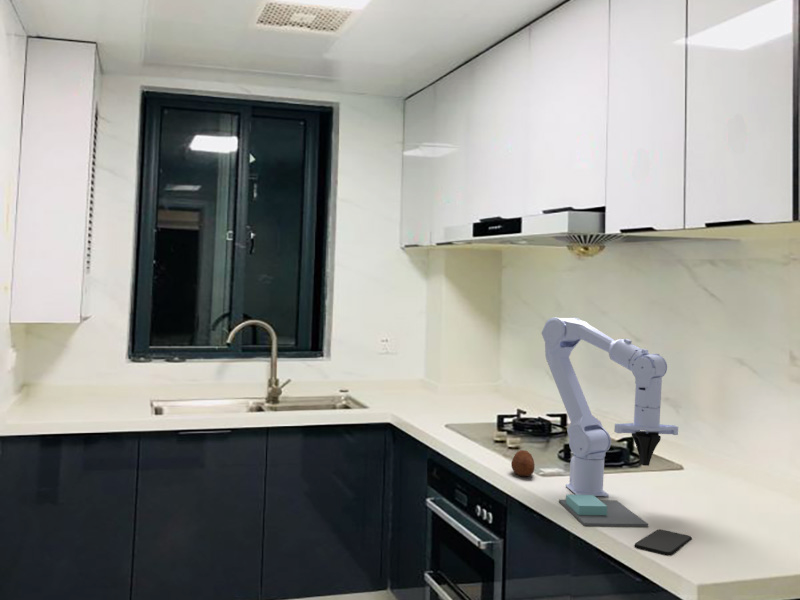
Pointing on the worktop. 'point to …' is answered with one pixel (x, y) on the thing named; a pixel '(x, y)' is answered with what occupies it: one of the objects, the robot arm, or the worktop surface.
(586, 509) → the block
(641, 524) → the mat
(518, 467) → the potato
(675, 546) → the smartphone
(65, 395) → the worktop surface
